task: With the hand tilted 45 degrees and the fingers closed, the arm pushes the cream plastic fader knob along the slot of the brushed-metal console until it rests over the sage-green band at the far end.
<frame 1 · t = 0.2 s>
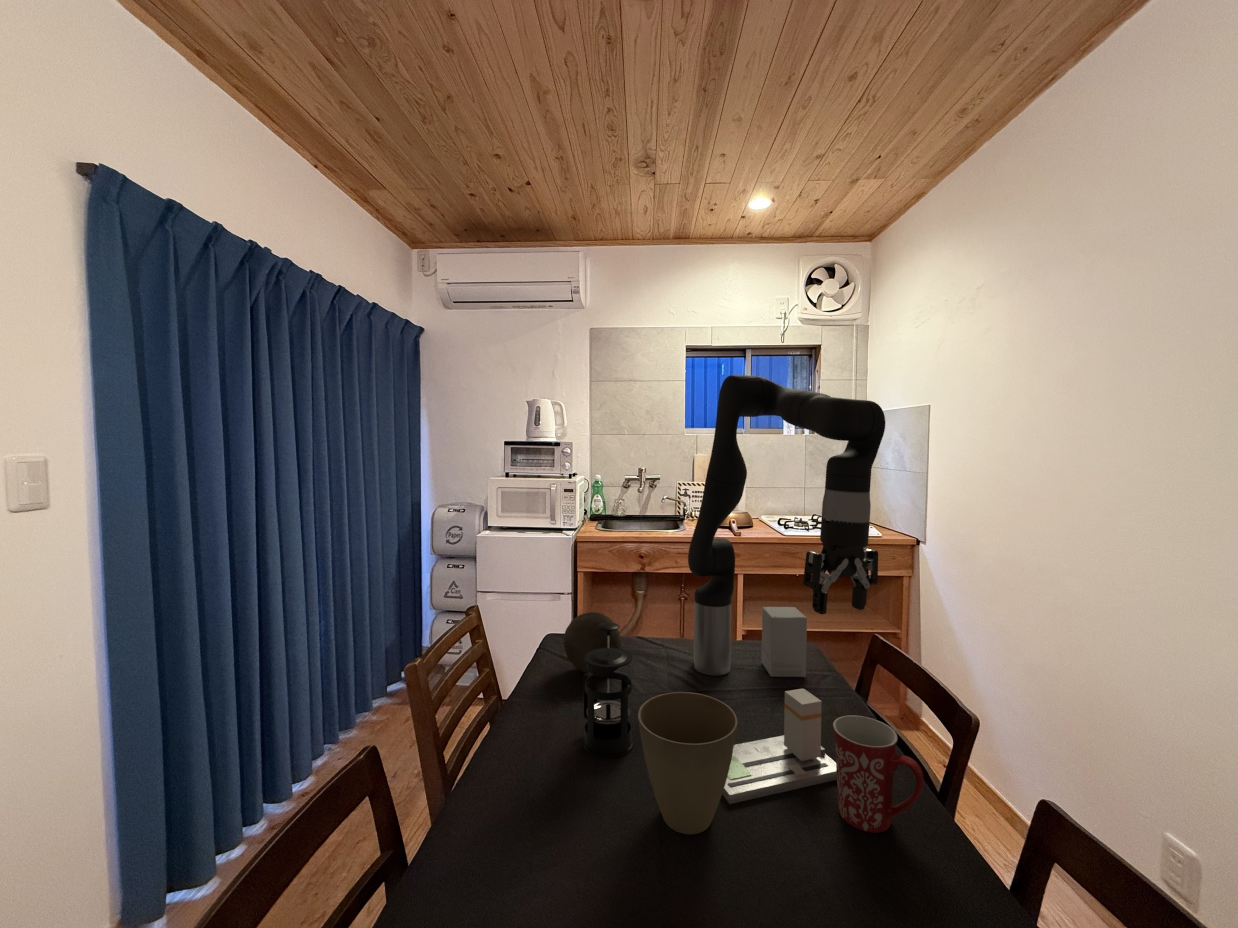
hand: (839, 610, 88), 29 cm above the table, tool pointing down, fingers open, 8 cm apart
french press: (606, 743, 98), on the table
supplement box: (783, 670, 131), on the table
fader knob: (802, 723, 92), point 7 cm above the table, slide at 7.0 cm
console: (768, 768, 91), on the table
plant pot: (686, 818, 79), on the table
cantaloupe: (592, 674, 128), on the table
mug: (874, 823, 78), on the table
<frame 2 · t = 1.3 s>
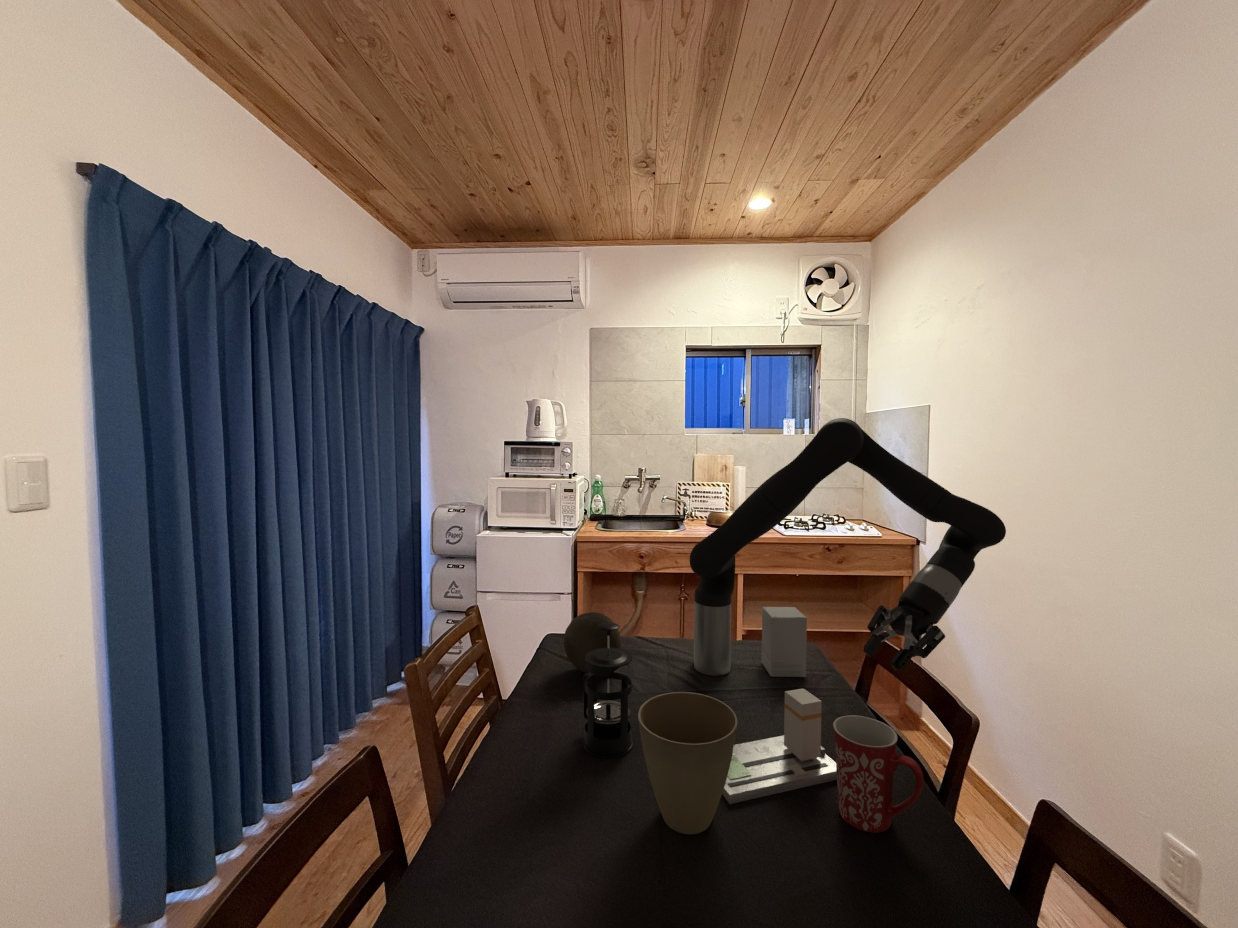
hand: (880, 660, 97), 16 cm above the table, tool tilted 45°, fingers open, 6 cm apart
nothing on the table moved.
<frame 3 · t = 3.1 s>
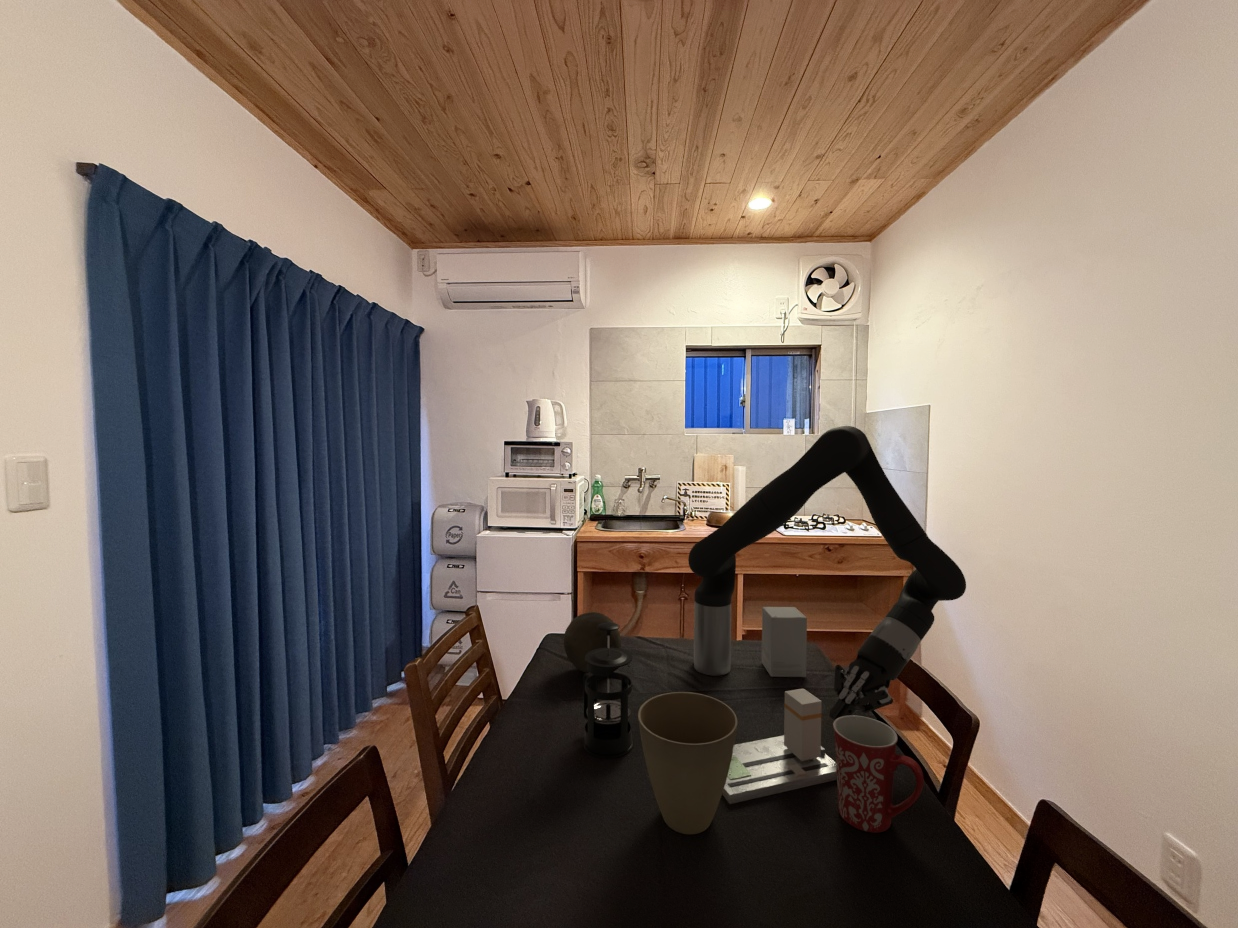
hand: (834, 720, 94), 6 cm above the table, tool tilted 45°, fingers closed
nothing on the table moved.
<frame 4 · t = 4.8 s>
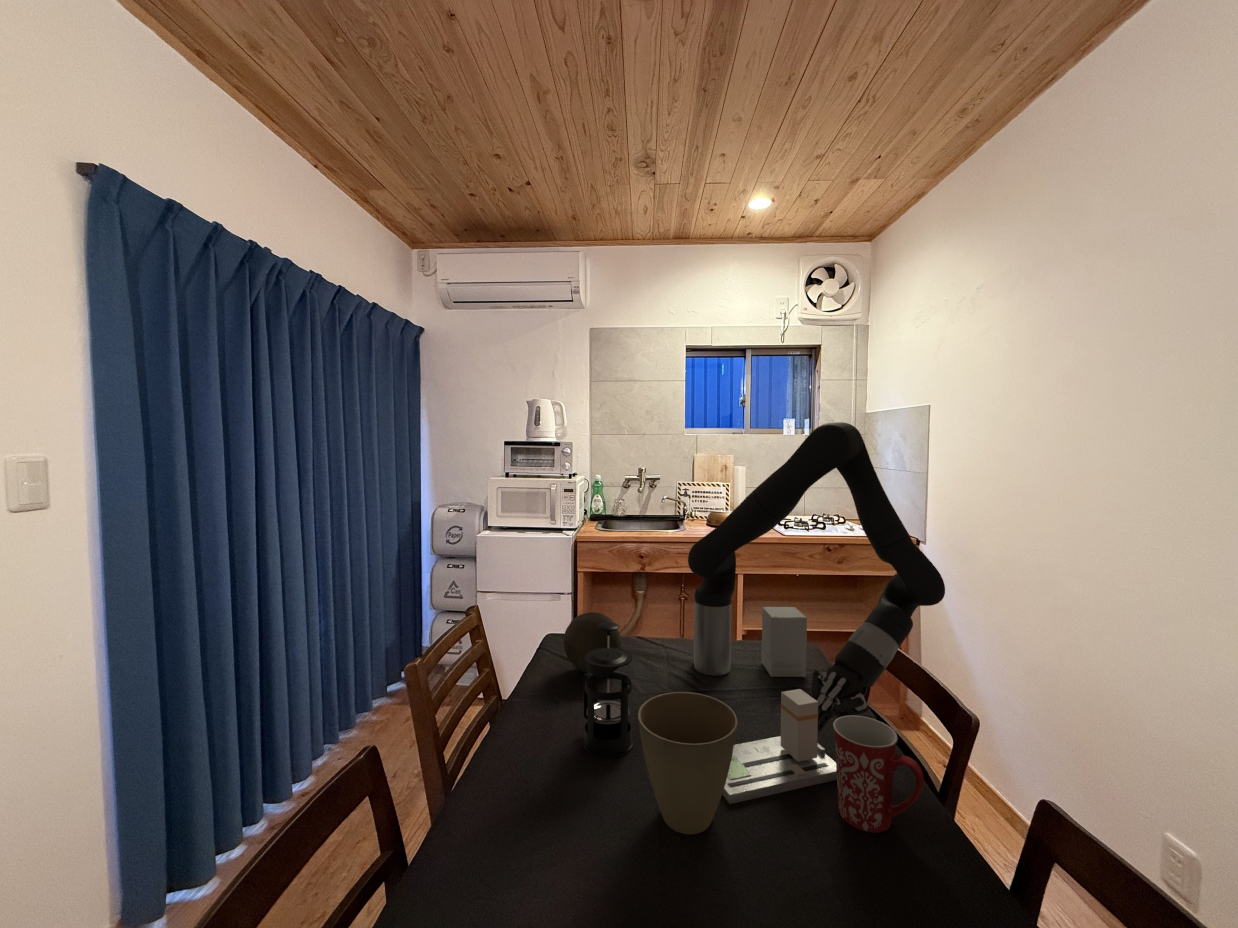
hand: (810, 728, 93), 6 cm above the table, tool tilted 45°, fingers closed
fader knob: (798, 724, 92), point 7 cm above the table, slide at 6.3 cm, touching gripper
everything else where it was.
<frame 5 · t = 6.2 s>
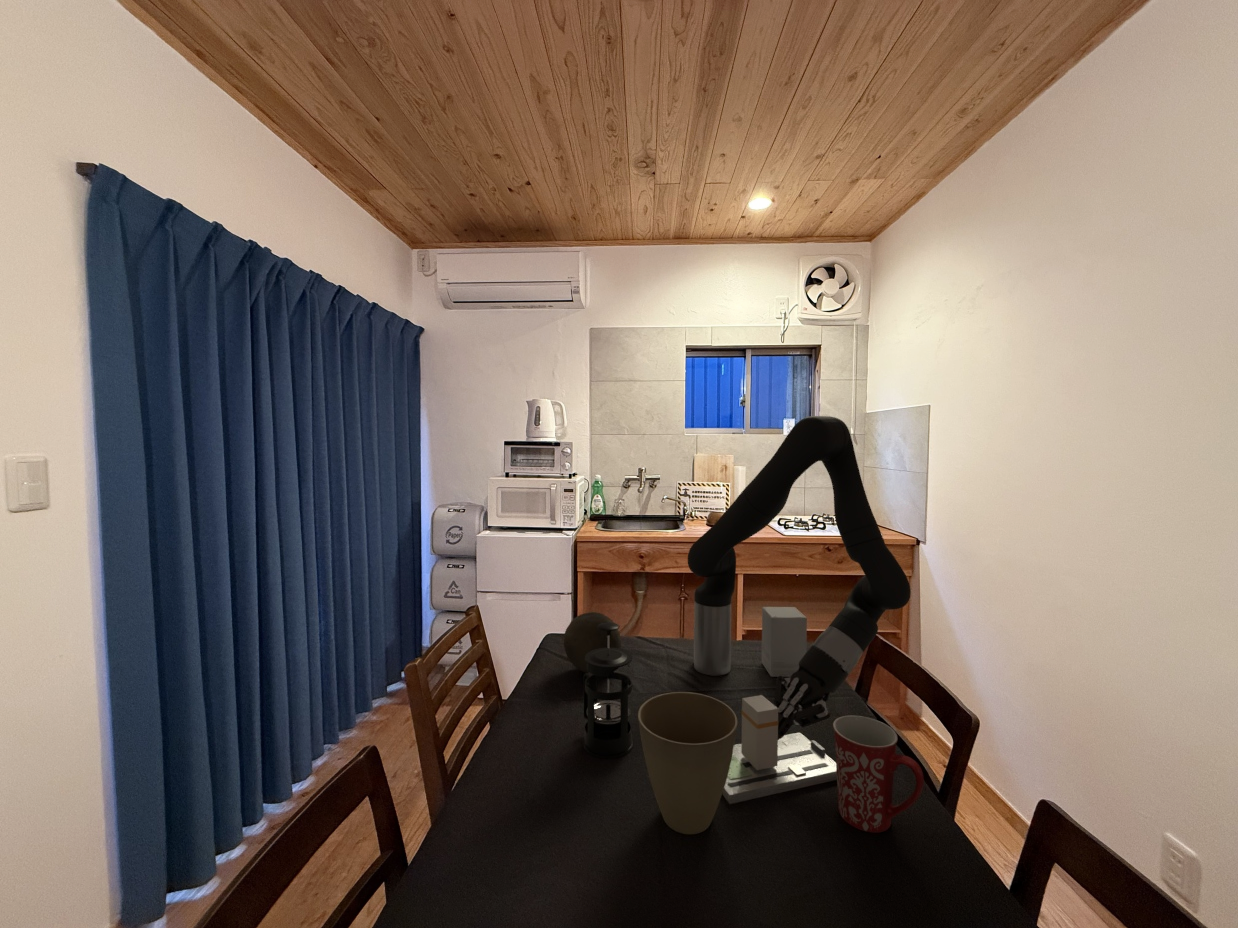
hand: (771, 735, 91), 6 cm above the table, tool tilted 45°, fingers closed
fader knob: (759, 731, 90), point 7 cm above the table, slide at -1.8 cm, touching gripper
everything else where it was.
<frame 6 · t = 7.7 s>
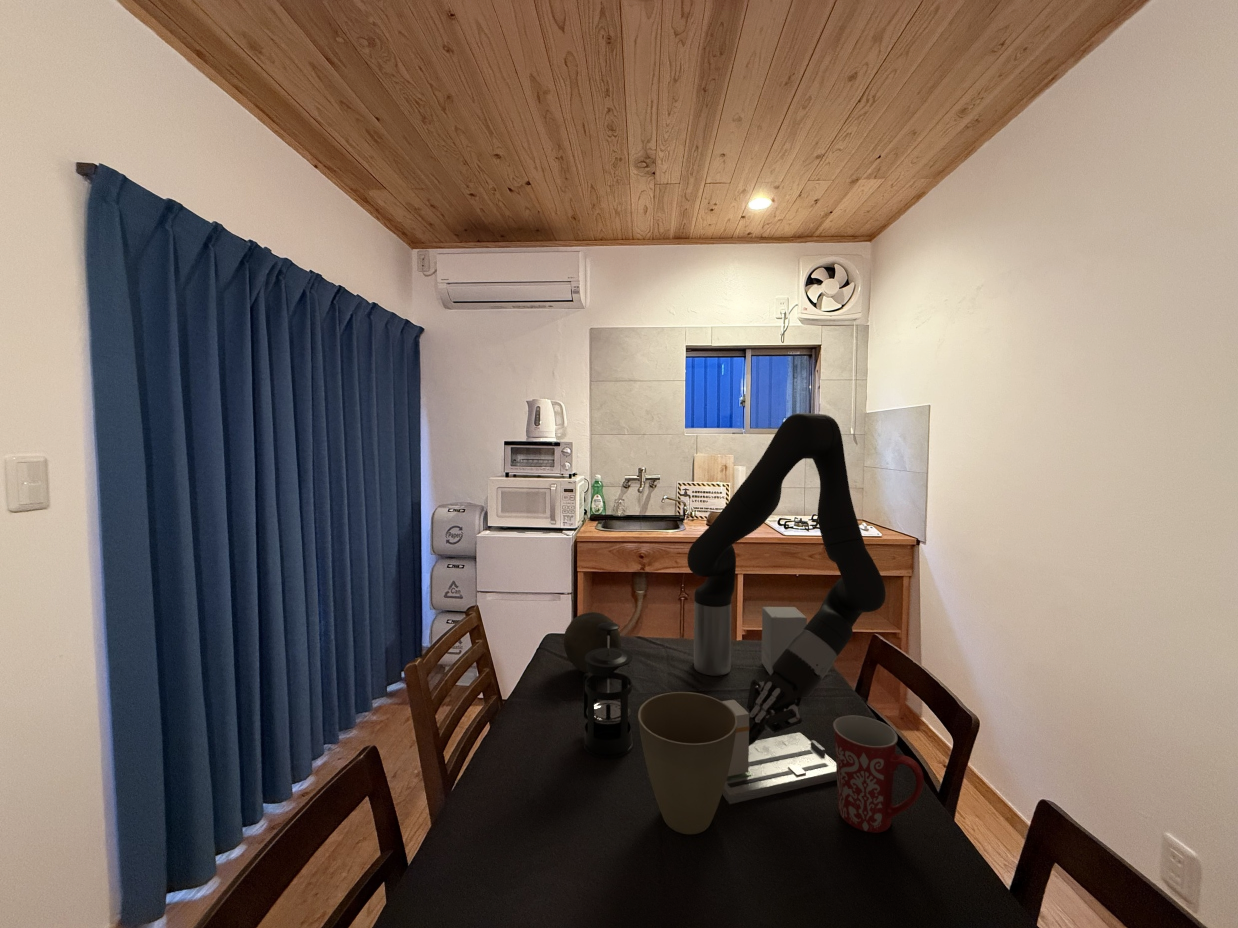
hand: (743, 740, 89), 6 cm above the table, tool tilted 45°, fingers closed
fader knob: (730, 736, 88), point 7 cm above the table, slide at -7.5 cm, touching gripper
everything else where it was.
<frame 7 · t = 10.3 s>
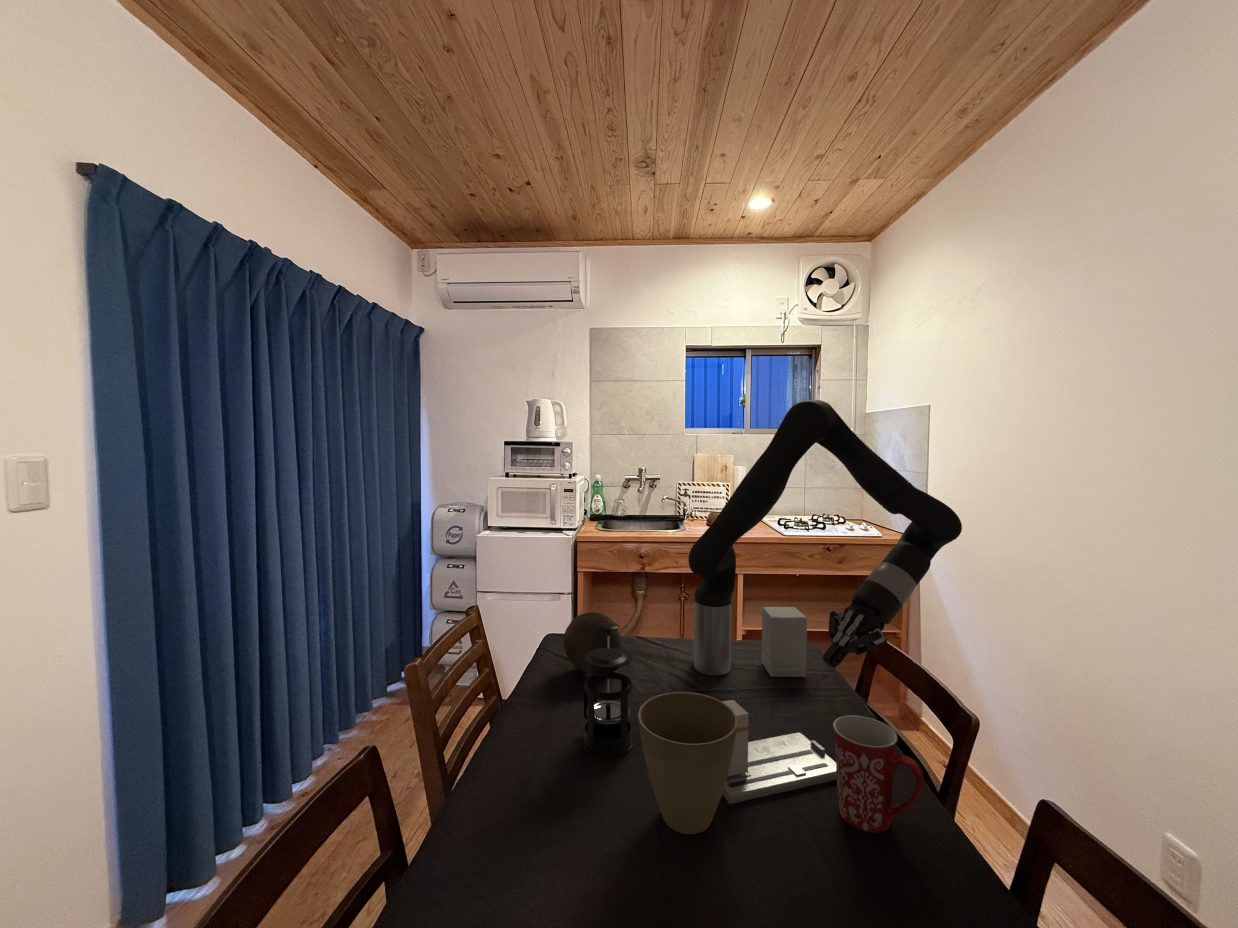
hand: (828, 663, 94), 17 cm above the table, tool tilted 45°, fingers closed
fader knob: (729, 736, 88), point 7 cm above the table, slide at -7.6 cm
everything else where it was.
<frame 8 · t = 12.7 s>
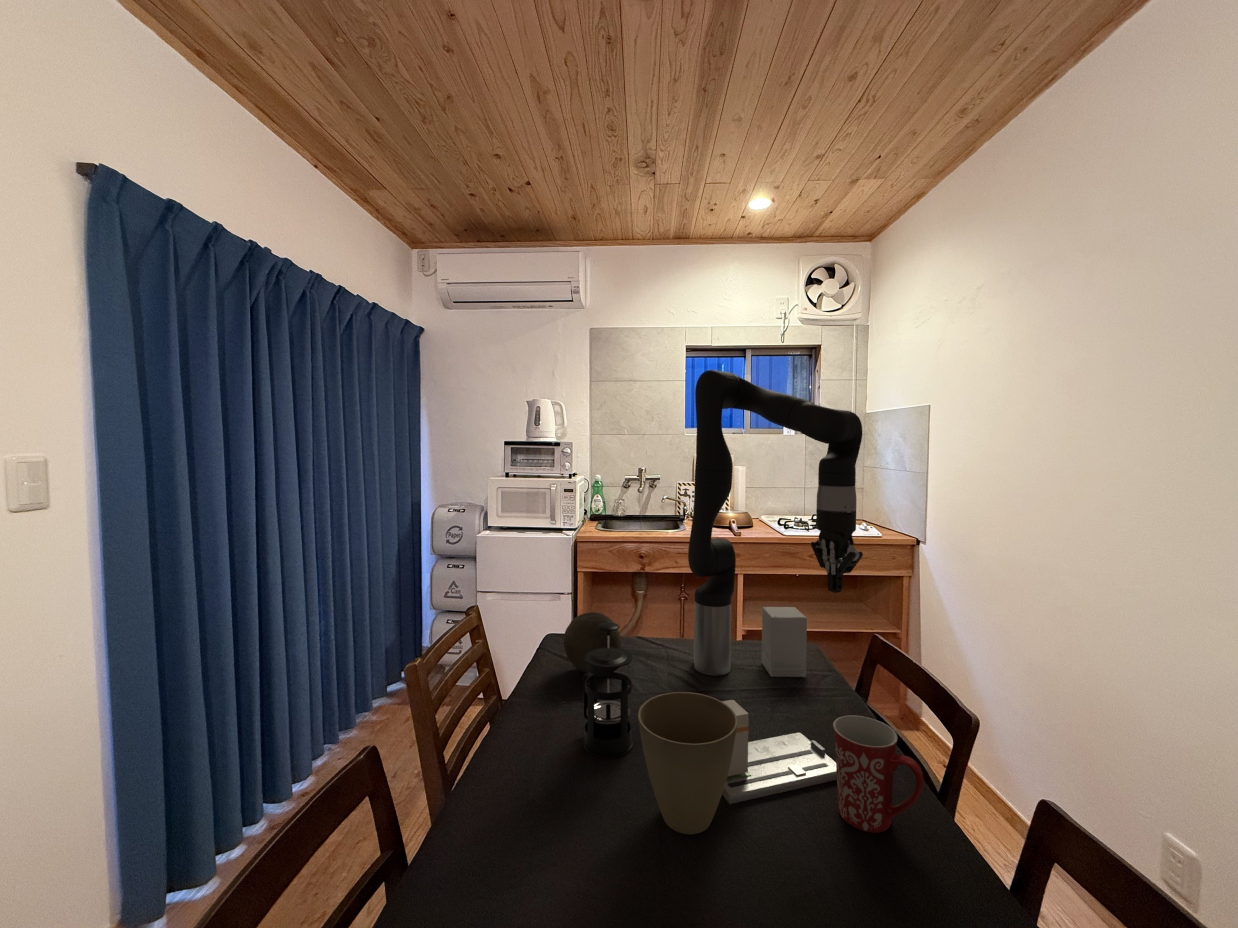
hand: (834, 591, 106), 27 cm above the table, tool pointing down, fingers closed
nothing on the table moved.
at the end: fader knob slide at -7.6 cm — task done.
